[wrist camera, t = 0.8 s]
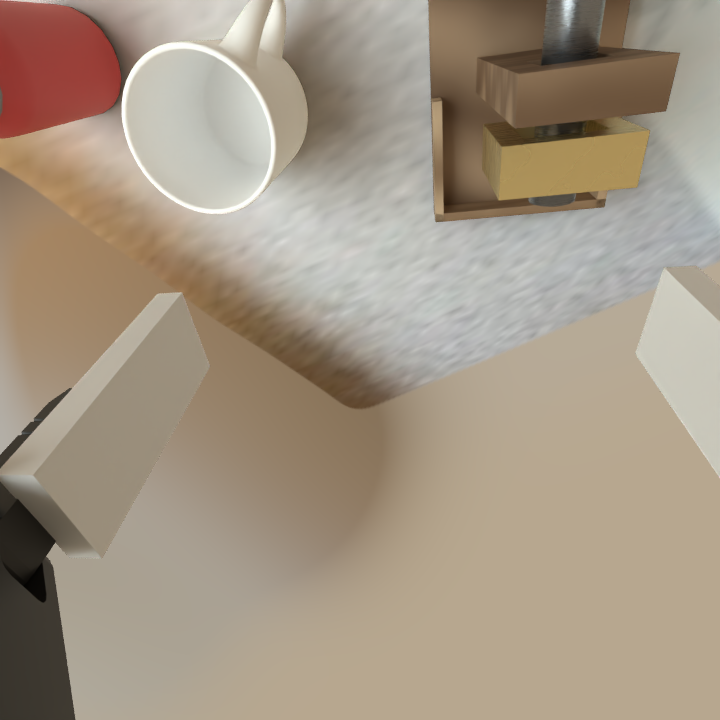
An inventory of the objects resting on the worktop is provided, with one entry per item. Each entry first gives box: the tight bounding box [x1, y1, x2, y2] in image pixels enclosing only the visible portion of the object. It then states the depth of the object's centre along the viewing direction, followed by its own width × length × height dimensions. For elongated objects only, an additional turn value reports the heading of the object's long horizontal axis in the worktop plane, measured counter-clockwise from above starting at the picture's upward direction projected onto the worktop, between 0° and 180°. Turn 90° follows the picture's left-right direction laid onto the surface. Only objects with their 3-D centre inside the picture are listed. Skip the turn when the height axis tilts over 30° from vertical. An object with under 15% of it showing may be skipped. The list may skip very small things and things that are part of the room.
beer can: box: [0, 0, 121, 138], centre depth 28 cm, size 7×7×12 cm
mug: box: [122, 0, 308, 214], centre depth 28 cm, size 9×12×11 cm
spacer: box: [482, 117, 650, 200], centre depth 24 cm, size 2×6×6 cm, turn 97°
